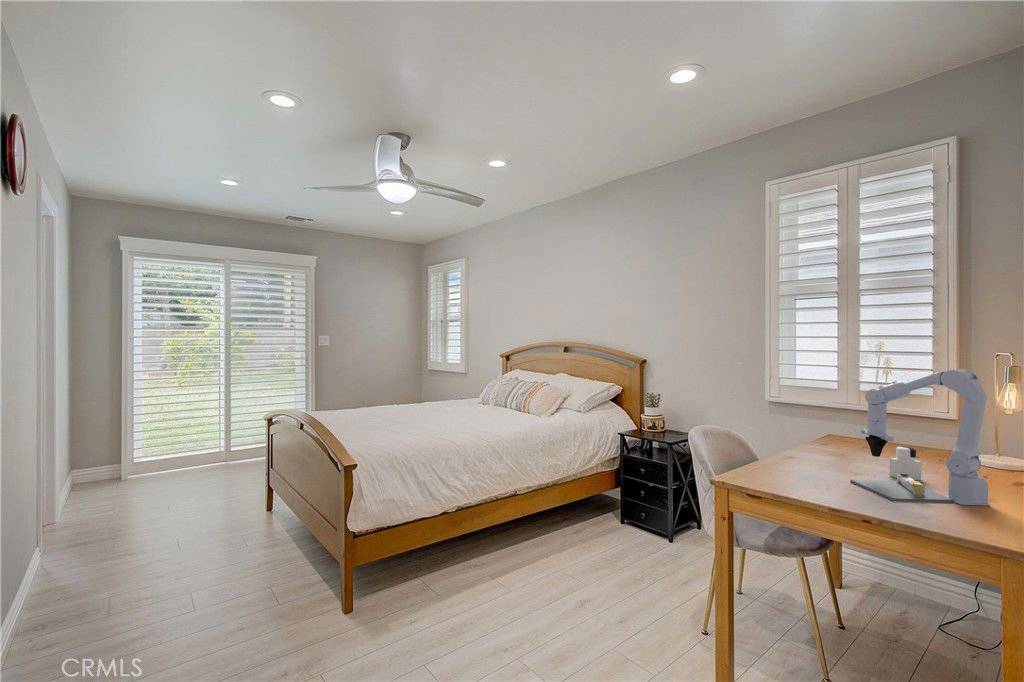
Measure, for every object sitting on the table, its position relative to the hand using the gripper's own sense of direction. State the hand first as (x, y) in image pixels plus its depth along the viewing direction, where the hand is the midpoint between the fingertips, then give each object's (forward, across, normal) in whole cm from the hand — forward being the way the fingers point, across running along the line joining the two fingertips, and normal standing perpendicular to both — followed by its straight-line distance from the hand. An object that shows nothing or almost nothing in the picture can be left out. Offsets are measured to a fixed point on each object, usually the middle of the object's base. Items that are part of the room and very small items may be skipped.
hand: (876, 456), depth 184 cm
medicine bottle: (+10, -5, +15) cm, 18 cm away
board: (+9, +13, -1) cm, 16 cm away
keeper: (+8, +19, 0) cm, 21 cm away
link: (+8, +12, +4) cm, 15 cm away
